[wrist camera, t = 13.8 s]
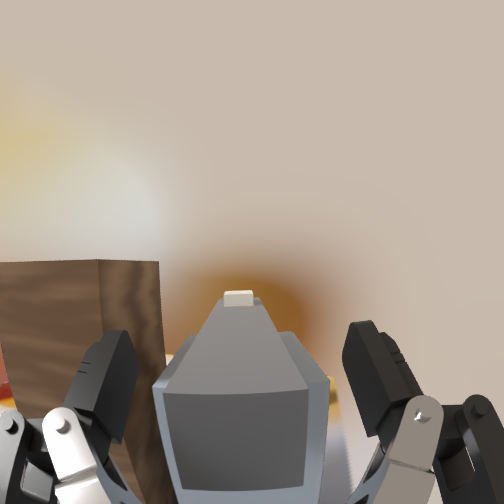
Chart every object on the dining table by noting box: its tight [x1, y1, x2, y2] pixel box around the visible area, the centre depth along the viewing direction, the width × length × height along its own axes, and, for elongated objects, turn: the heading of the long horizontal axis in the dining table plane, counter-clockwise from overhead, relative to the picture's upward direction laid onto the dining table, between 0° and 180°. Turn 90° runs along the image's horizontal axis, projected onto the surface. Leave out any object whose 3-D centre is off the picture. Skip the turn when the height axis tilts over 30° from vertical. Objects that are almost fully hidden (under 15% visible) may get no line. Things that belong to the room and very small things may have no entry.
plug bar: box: [163, 290, 309, 491], centre depth 18 cm, size 22×4×5 cm, turn 2°
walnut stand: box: [0, 259, 179, 504], centre depth 22 cm, size 14×11×32 cm
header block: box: [152, 331, 330, 504], centre depth 22 cm, size 14×11×24 cm
